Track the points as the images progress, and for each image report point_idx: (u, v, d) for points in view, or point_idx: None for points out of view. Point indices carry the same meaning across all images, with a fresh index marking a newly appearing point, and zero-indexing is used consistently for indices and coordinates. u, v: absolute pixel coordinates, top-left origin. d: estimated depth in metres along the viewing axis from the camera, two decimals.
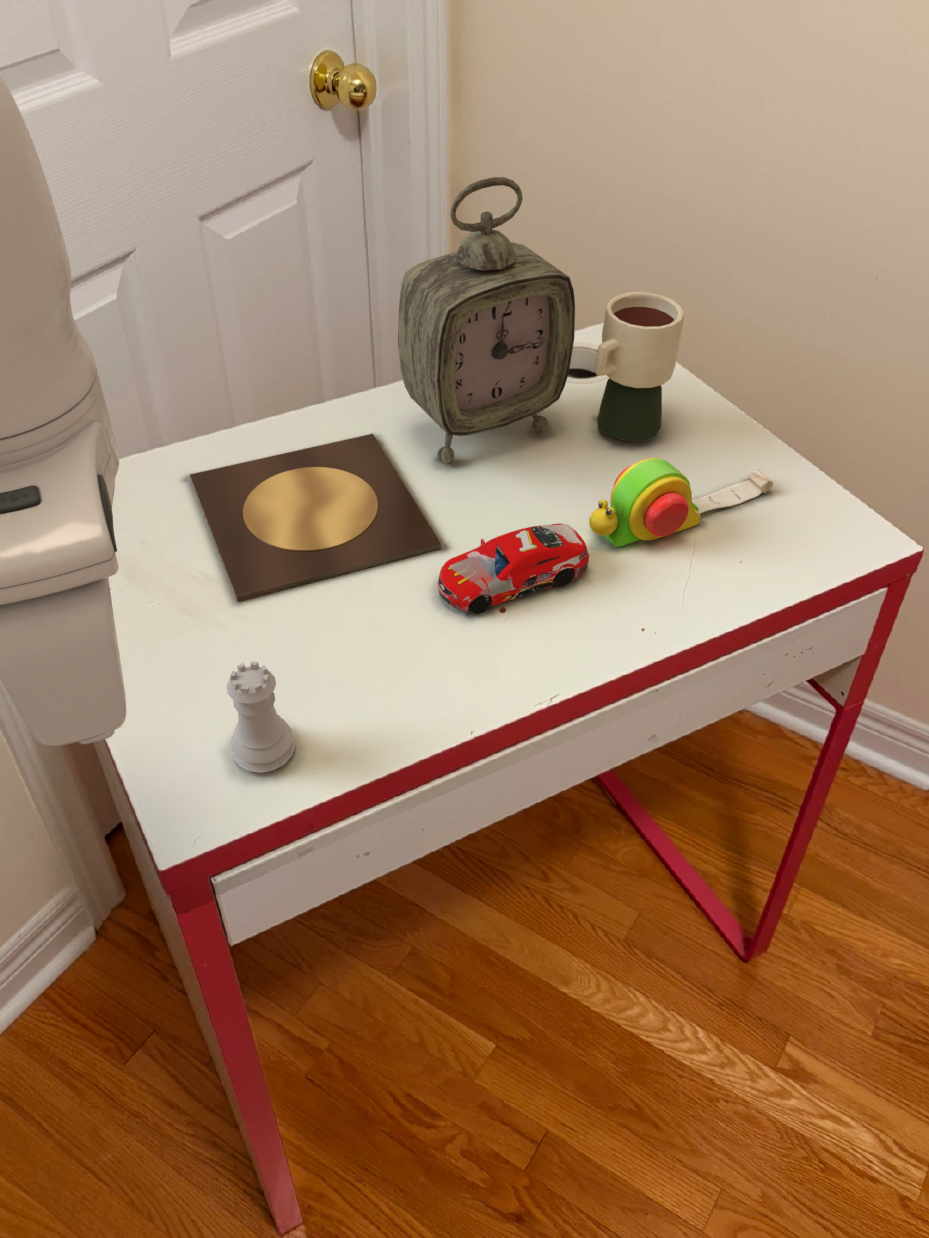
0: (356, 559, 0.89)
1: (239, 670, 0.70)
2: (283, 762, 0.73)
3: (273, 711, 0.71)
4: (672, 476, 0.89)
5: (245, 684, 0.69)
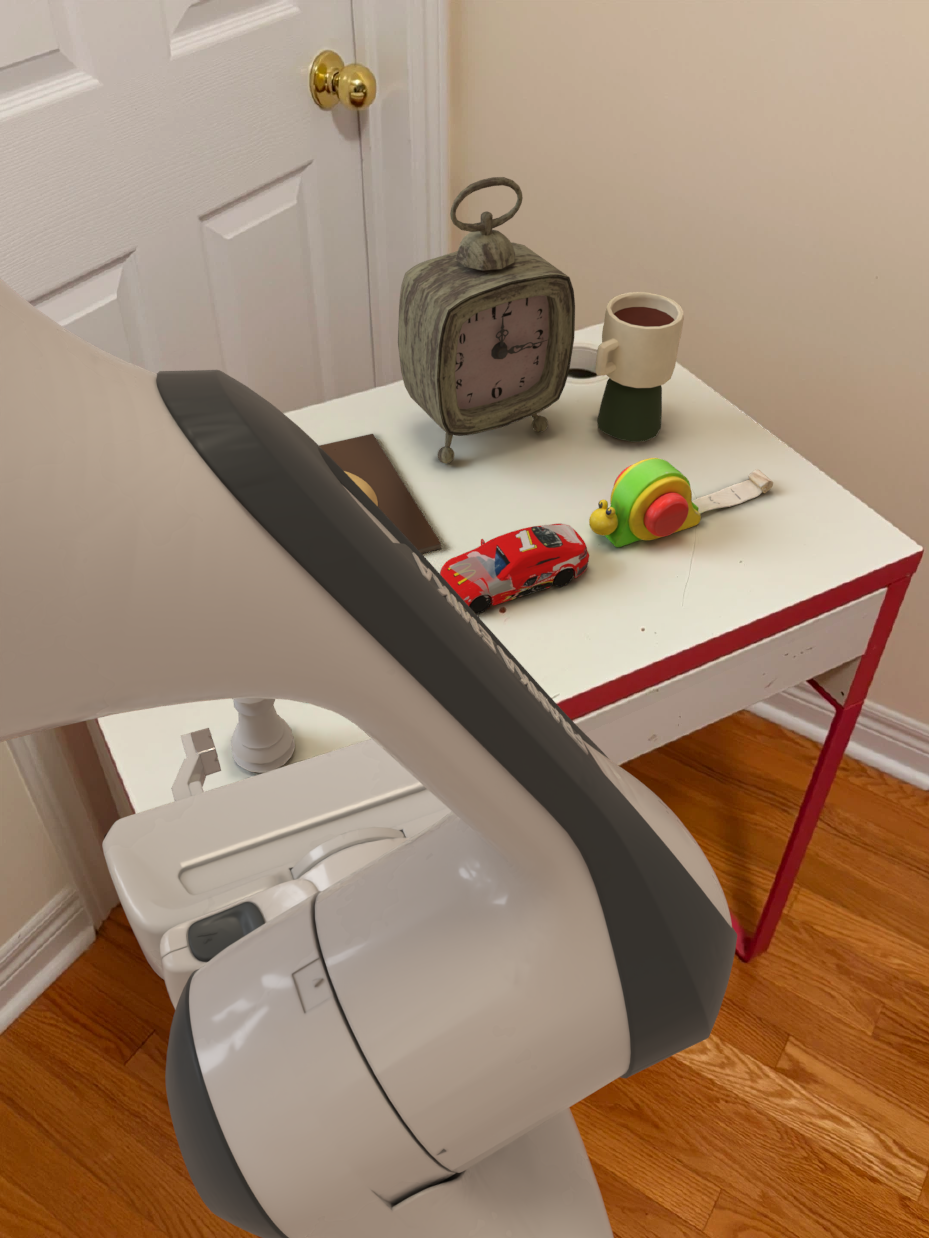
0: None
1: None
2: (283, 762, 0.73)
3: (273, 711, 0.71)
4: (672, 476, 0.89)
5: None
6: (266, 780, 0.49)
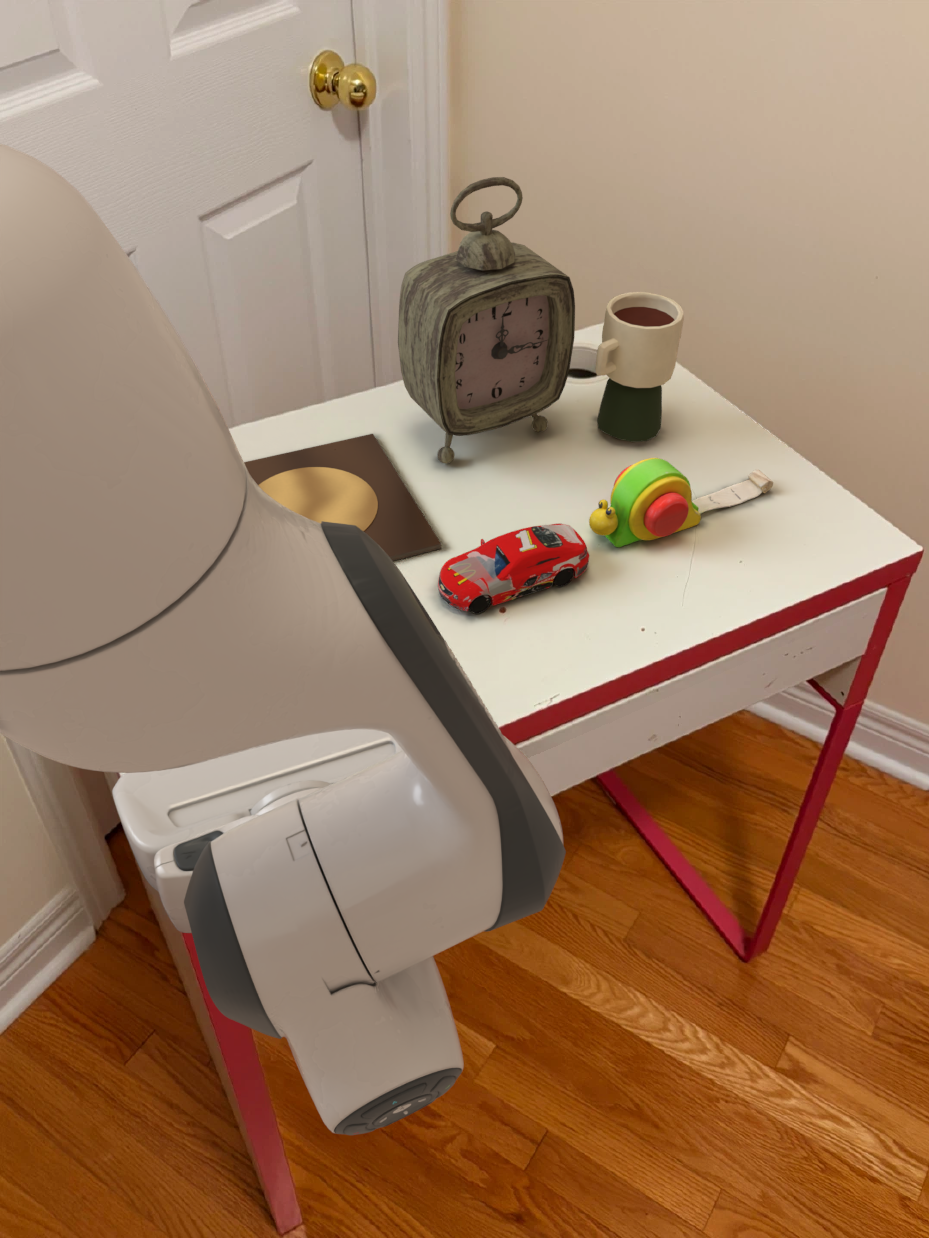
0: None
1: None
2: None
3: None
4: (672, 476, 0.89)
5: None
6: None
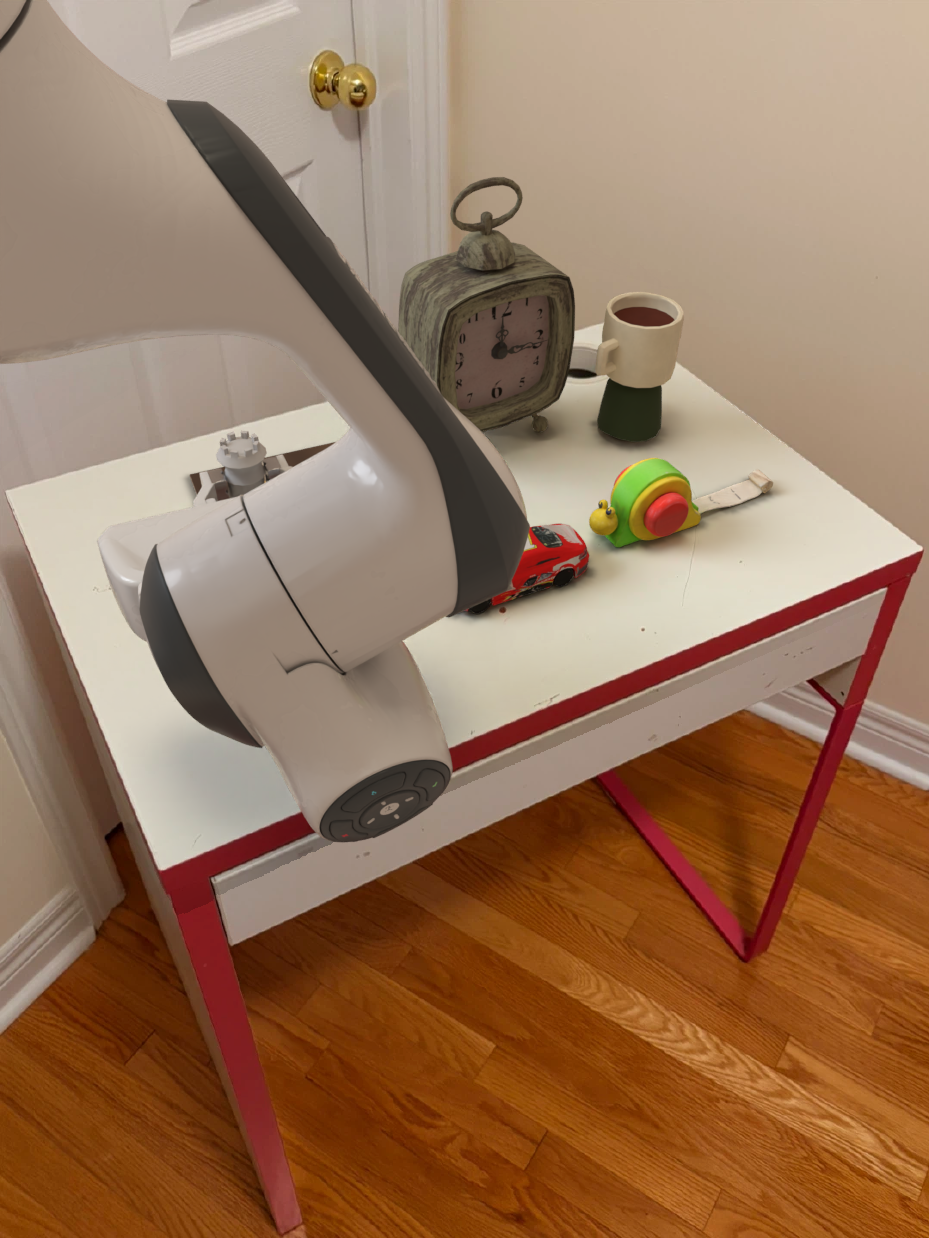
0: None
1: (229, 438, 0.68)
2: None
3: None
4: (672, 476, 0.89)
5: (235, 450, 0.68)
6: (223, 504, 0.65)
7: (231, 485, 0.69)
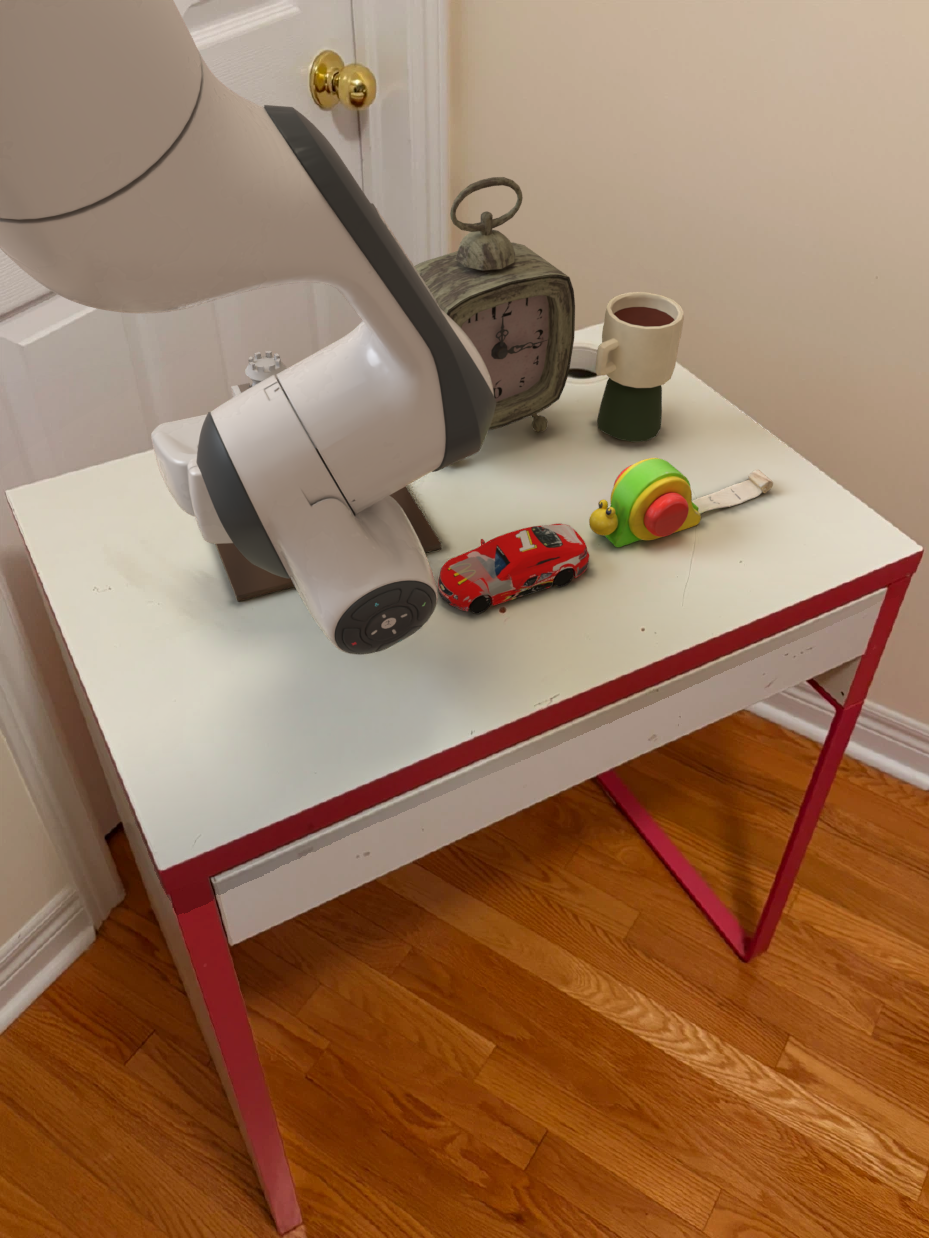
0: None
1: (256, 357, 0.83)
2: None
3: None
4: (672, 476, 0.89)
5: None
6: None
7: None
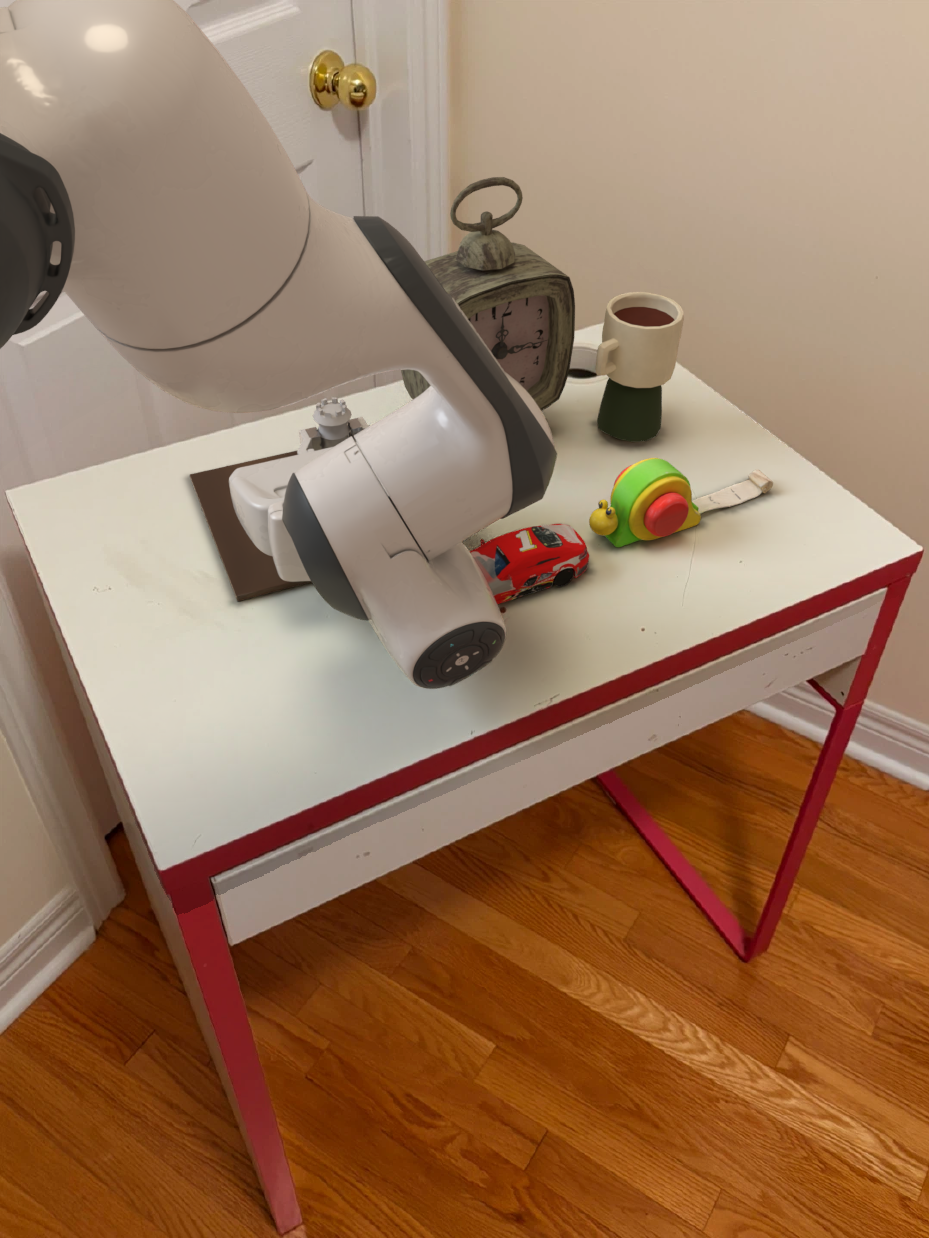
0: None
1: (323, 403, 0.88)
2: None
3: None
4: (672, 476, 0.89)
5: None
6: (321, 452, 0.85)
7: (323, 440, 0.89)
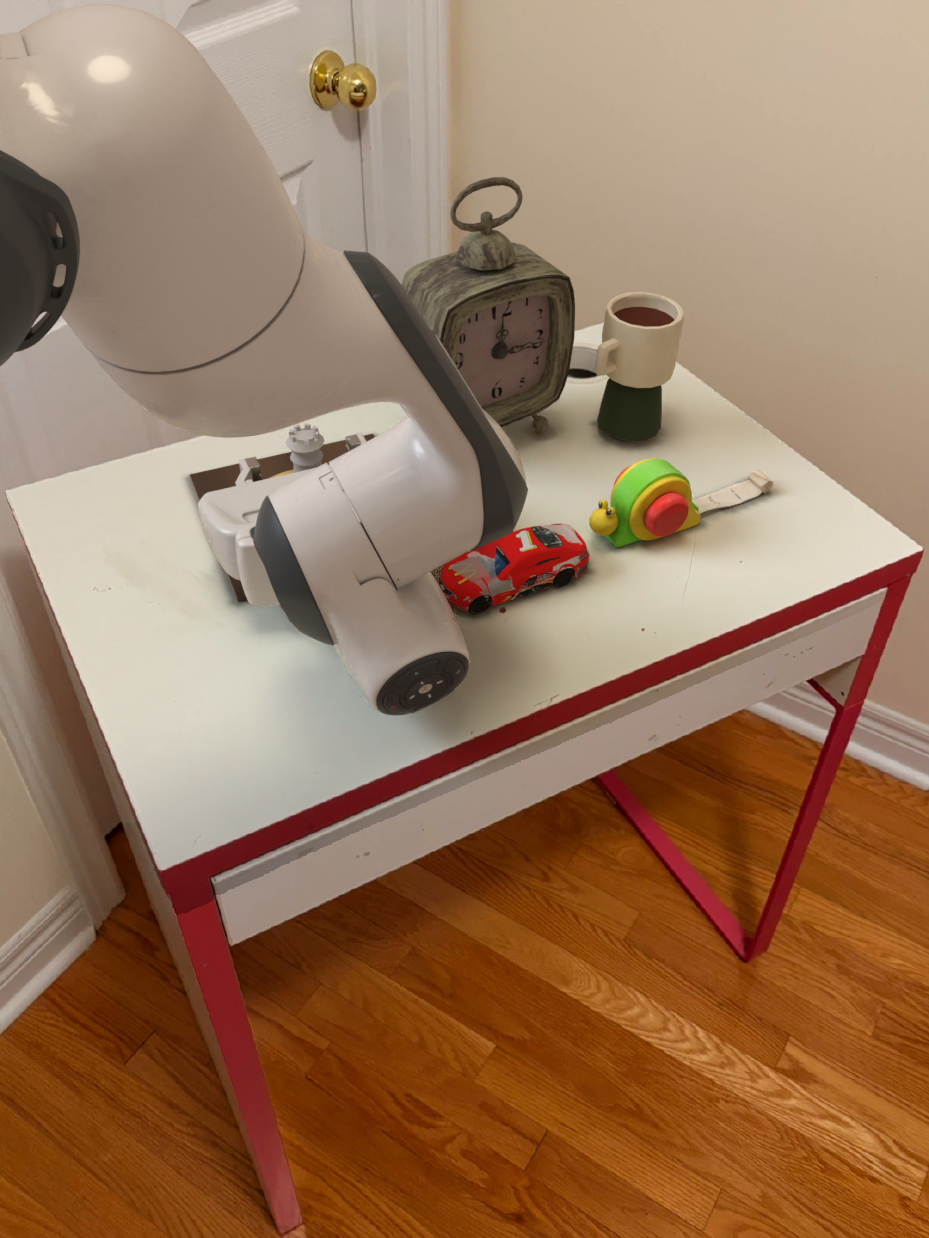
0: None
1: (296, 429, 0.89)
2: None
3: None
4: (672, 476, 0.89)
5: None
6: (291, 476, 0.85)
7: (296, 465, 0.90)
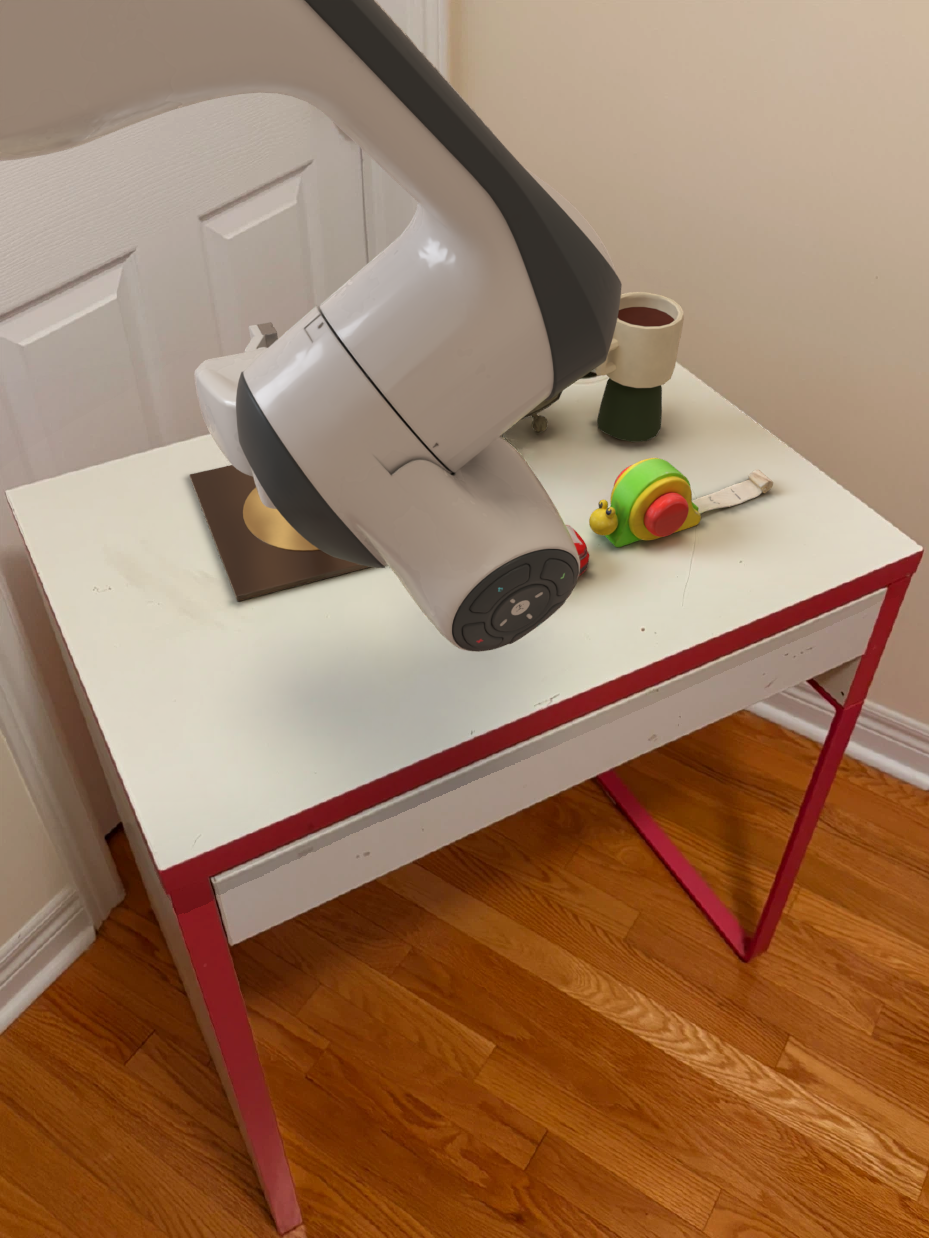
0: None
1: None
2: None
3: None
4: (672, 476, 0.89)
5: None
6: None
7: None
